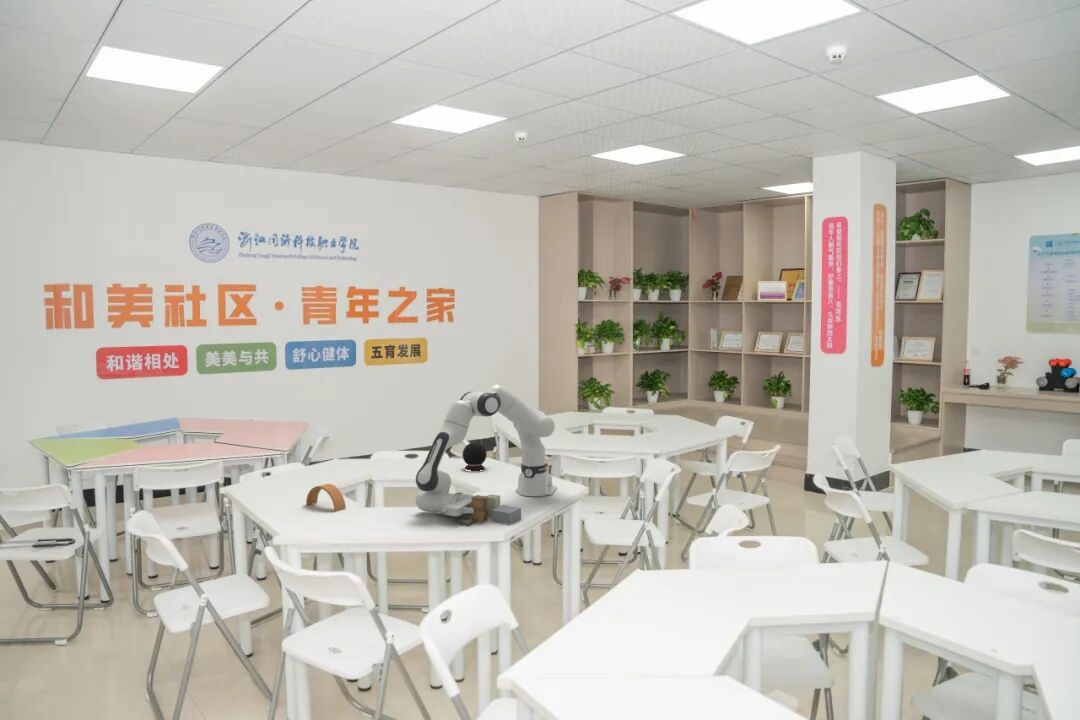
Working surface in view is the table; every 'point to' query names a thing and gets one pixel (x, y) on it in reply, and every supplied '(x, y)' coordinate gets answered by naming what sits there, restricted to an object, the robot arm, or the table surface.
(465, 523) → the card
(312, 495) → the orange brown arch
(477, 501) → the walnut block
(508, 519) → the slate base block
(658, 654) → the table surface
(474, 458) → the snow globe
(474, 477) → the table surface
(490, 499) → the sage green block
